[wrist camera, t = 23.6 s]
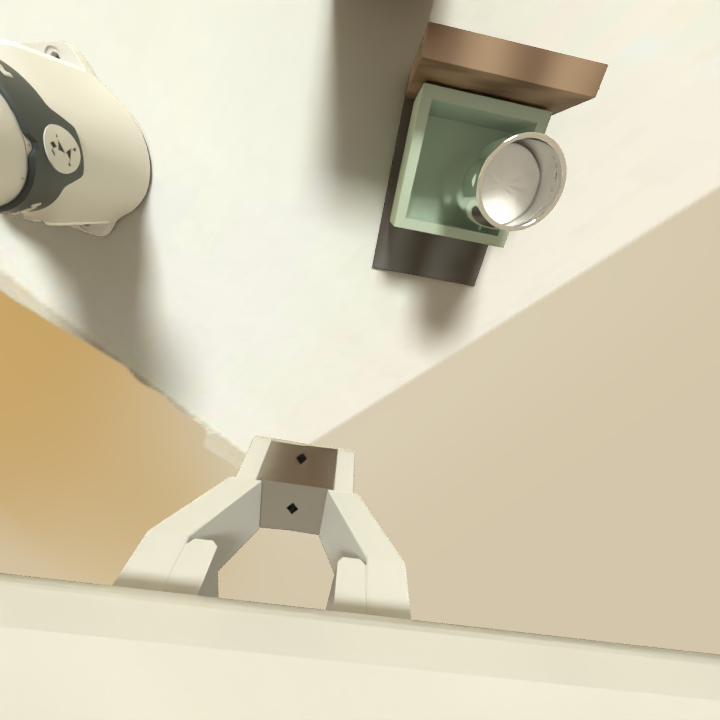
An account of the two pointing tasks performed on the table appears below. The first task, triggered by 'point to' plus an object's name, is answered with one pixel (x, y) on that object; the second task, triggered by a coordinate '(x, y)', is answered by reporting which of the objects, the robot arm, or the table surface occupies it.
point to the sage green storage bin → (452, 156)
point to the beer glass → (507, 182)
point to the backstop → (486, 78)
